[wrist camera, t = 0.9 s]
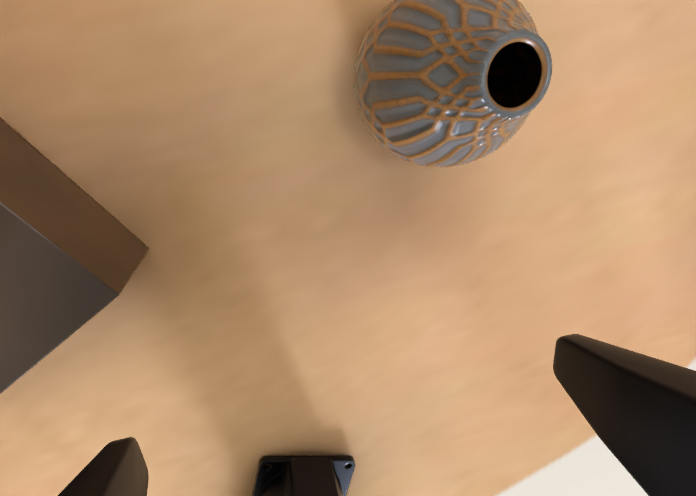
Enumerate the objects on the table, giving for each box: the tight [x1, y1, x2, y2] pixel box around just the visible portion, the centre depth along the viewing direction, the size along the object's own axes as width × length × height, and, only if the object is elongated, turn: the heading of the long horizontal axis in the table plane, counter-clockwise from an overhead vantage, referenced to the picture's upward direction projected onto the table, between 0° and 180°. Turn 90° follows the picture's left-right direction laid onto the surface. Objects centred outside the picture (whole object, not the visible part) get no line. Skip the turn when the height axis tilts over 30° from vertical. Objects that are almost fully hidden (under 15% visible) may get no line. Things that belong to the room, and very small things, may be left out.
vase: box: [354, 0, 552, 167], centre depth 16 cm, size 7×7×9 cm
